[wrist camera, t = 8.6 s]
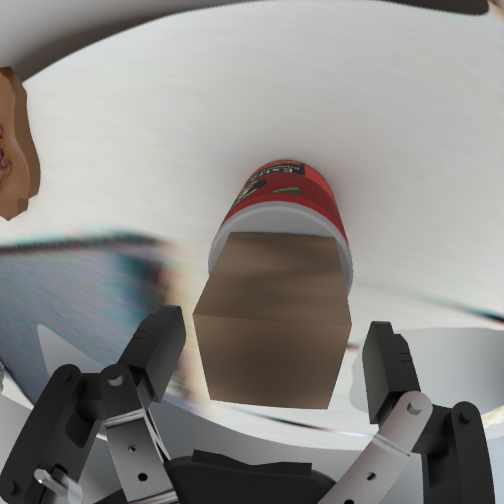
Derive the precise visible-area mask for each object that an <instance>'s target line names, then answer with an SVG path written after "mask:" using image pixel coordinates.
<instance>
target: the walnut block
mask: <svg viewBox="0 0 504 504" xmlns="http://www.w3.org/2000/svg"><path fill="white" fill-rule="evenodd" d="M192 315H193V320H194V325H195V331H196V336H197V341H198V346H199V351H200V355H201V360H202V365H203V369H204V374H205V379H206V383H207V387H208V392H209V396H210V400H217V401H224V402H231V403H239V404H248V405H258V406H269V407H282V408H299V409H328V406H329V403H330V400H331V397H332V393H333V390H334V387H335V384H336V381H337V377H338V374H339V371H340V367H341V364H342V360H343V357H344V353H345V349H346V346H347V342H348V338H349V334H350V330H351V326H352V323H351V317H350V311H349V305H348V299H347V294H346V288H345V283H344V278H343V273H342V268H341V263H340V258H339V253H338V248H337V244H336V239H335V238H333V237H314V236H294V235H274V234H251V233H230V234H229V236H228V238H227V240H226V243H225V245H224V247H223V249H222V251H221V253H220V255H219V257H218V260H217V262H216V264H215V266H214V268H213V270H212V272H211V275H210V277H209V279H208V281H207V283H206V285H205V288H204V290H203V292H202V294H201V296H200V299H199V301H198V303H197V305H196V307H195V310H194V312H193V314H192Z"/></svg>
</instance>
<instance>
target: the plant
mask: <svg viewBox="0 0 504 504" xmlns="http://www.w3.org/2000/svg"><path fill="white" fill-rule="evenodd" d="M26 101H27V93H26V91H25V89H24V88H23V86H22V81H21V79H20V77H19V76H18V75H16V74H15V73H14V71H13V70H12V67H10V66H9V67H1V68H0V216H2V217H3V218H5V219H6V220H7V221H9V220H11V219H12V218H14V217H15V216H17V215H19V214H20V213H22V212H23V211H25V210H27V208H28V199H29V198H31V197H33V196H34V195H36V194H37V193H38V190H39V185H40V163H39V159H38V155H37V152H36V149H35V146H34V143H33V140H32V137H31V133H30V128H29V122H28V116H27V108H26Z"/></svg>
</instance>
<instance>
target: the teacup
mask: <svg viewBox="0 0 504 504" xmlns="http://www.w3.org/2000/svg"><path fill="white" fill-rule="evenodd" d="M3 369H4V365H3V364H2V363H1V361H0V394H1V392H2V391H3V384H2V381H3V378H4V374H3V371H2V370H3Z"/></svg>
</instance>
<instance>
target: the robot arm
mask: <svg viewBox="0 0 504 504" xmlns="http://www.w3.org/2000/svg"><path fill="white" fill-rule="evenodd" d="M185 341H186V330H185V325H184V320H183V315H182V310H181V307H180V306H175V305H167V304H162V305H161V307H160V308H159V310H158V312H157V314H156V315H154V314H150V315H149V316H148V317H146V318H145V319H144V320H143V321H142V322H141V323H140V325H139V327H138V328H137V331H136V332H135V333H134V335H133V338H131V340H130V342H129V343H128V345H127V347H126V348H125V350H124V352H123V354H122V355H121V357H120V359H119V360H118V362H117V364H111V365H109V366H107V367H105V368H104V369H103V370H102V371H101V372H100V373H81V371H80V369H79V368H78V367H77V366H75V365H72V364H66V365H63V366H61V367H59V368H58V369H57V370H56V371H55V372H54V374H53V375H52V377H51V378H50V380H49V382H48V383H47V385H46V387H45V388H44V390H43V392H42V394H41V395H40V397H39V399H38V401H37V402H36V404H35V406H34V408H33V410H32V412H31V413H30V415H29V417H28V419H27V421H26V423H25V425H24V427H23V428H22V431H21V432H20V434H19V436H18V438H17V440H16V442H15V445H14V446H13V448H12V451H11V453H10V455H9V457H8V459H7V461H6V463H5V466H4V468H3V470H2V472H1V475H0V496H1V498H2V499H3V500H4V501H5V502H7V503H8V504H81V503H82V501H83V497H82V489H81V487H80V485H79V484H78V481H79V478H80V476H81V473H82V470H83V468H84V465H85V462H86V460H87V457H88V455H89V452H90V450H91V447H92V445H93V442H94V440H95V437H96V435H97V433H98V430H99V428H100V425H101V423H102V421H103V420H107V421H106V422H104V428H105V432H106V436H107V440H108V443H109V447H110V450H111V454H112V457H113V460H114V464H115V467H116V470H117V473H118V476H119V479H120V482H121V485H122V489H120V490H118V491H116V492H115V493H113V494H111V495H109V496H107V497H105V498H103V499H102V500H100V501H98V502H96V503H94V504H378V503H379V502H380V501H381V499H382V498H383V497H384V495H385V494H386V493H387V491H388V490H389V488H390V487H391V485H392V484H393V482H394V481H395V480H396V478H397V477H398V475H399V474H400V472H401V471H402V469H403V468H404V466H405V464H406V463H407V461H408V459H409V453H410V452H413V453H419V454H421V458H422V471H423V496H424V504H495V494H494V485H493V478H492V471H491V464H490V458H489V453H488V448H487V442H486V437H485V433H484V428H483V424H482V420H481V416H480V412H479V410H478V409H477V407H476V406H475V405H473V404H472V403H470V402H466V401H463V402H459V403H457V404H456V405H455V406H454V407H453V408H447V407H442V406H437V405H434V404H432V402H431V400H430V399H429V398H428V397H427V396H426V395H425V394H424V393H421V390H420V386H419V382H418V378H417V374H416V371H415V367H414V364H413V362H412V361H413V360H412V357H411V354H410V350H409V346H408V343H407V342H406V340H405V339H404V338H403V337H402V336H401V334H394V333H393V329H392V326H391V323H390V322H385V321H372V323H371V325H370V328H369V331H368V334H367V338H366V341H365V344H364V347H363V353H362V361H363V368H364V376H365V383H366V392H367V400H368V409H369V419H370V424H378V425H379V431H378V432H377V433H376V435H375V436H374V437H373V439H372V440H371V441H370V443H369V444H368V445H367V447H366V448H365V449H364V451H363V452H362V453H361V454H360V456H359V457H358V458H357V459H356V461H355V462H354V463H353V464H352V466H351V467H350V468H349V469H348V470H347V471H346V473H345V474H344V475H343V476H342V477H341V478H340V480H339V481H338V482H336V481H335V480H333V479H332V478H330V477H329V476H327V475H325V474H323V473H321V472H318V471H315V470H312V469H311V468H312V463H298V462H277V463H269V464H261V465H248V464H245V463H243V462H240V461H237V460H235V459H232V458H230V457H227V456H224V455H222V454H216V453H210V452H205V451H200V450H194V453H193V455H192V456H184V457H179V458H174V459H172V460H171V459H170V457H169V455H168V453H167V451H166V449H165V447H164V445H163V443H162V441H161V438H160V436H159V434H158V431H157V429H156V426H155V423H154V421H153V419H152V416H151V413H150V410H149V405H150V403H151V401H153V402H157V403H160V402H161V400H162V397H163V395H164V392H165V390H166V388H167V385H168V383H169V380H170V378H171V376H172V373H173V371H174V368H175V366H176V364H177V361H178V359H179V357H180V354H181V352H182V350H183V347H184V345H185Z"/></svg>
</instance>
